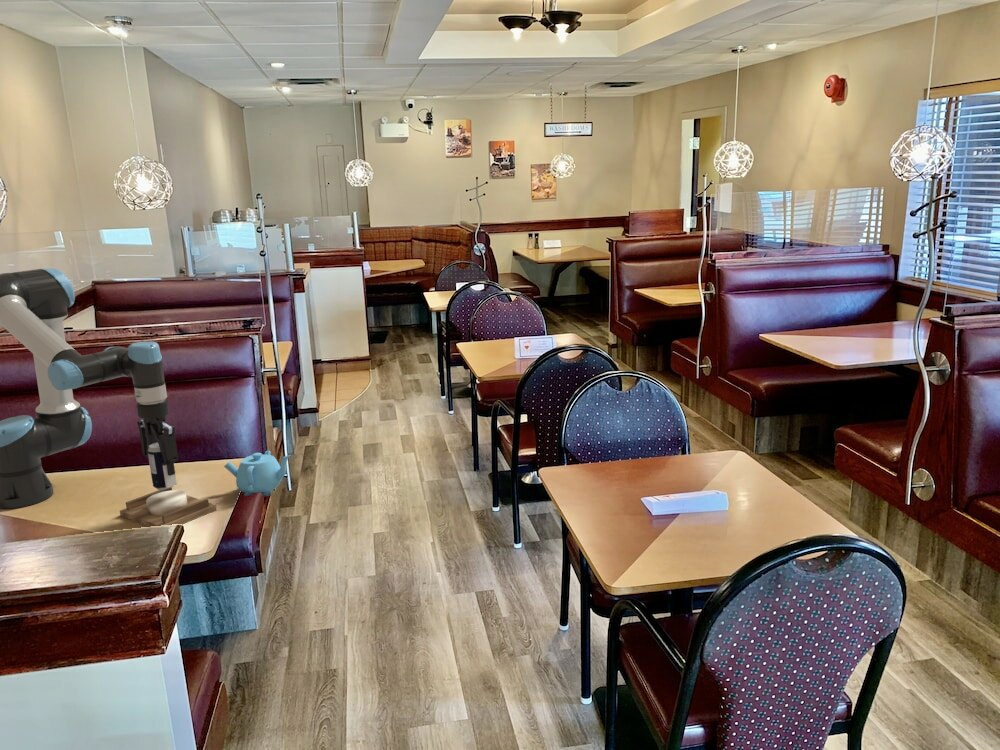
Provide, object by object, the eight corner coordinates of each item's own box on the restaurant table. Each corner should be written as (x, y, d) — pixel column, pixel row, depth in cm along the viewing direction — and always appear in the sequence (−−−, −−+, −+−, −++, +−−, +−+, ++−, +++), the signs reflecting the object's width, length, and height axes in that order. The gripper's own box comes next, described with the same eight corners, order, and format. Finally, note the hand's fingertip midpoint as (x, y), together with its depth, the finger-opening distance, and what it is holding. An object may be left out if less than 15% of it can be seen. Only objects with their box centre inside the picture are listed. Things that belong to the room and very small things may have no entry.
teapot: (277, 477, 234) (273, 441, 231) (295, 490, 223) (291, 453, 220) (226, 490, 225) (221, 453, 222) (243, 504, 214) (238, 466, 212)
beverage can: (167, 491, 205) (161, 448, 202) (149, 490, 206) (142, 447, 204) (180, 483, 211) (174, 441, 208) (162, 482, 212) (155, 440, 209)
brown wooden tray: (120, 515, 210) (117, 500, 209) (173, 495, 222) (171, 480, 221) (163, 532, 199) (160, 516, 197) (216, 510, 211) (214, 494, 210)
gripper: (118, 400, 205) (132, 481, 211) (159, 409, 195) (172, 495, 200) (145, 393, 211) (157, 473, 217) (185, 401, 201) (197, 485, 206)
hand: (164, 483), depth 208 cm, fingers closed on beverage can, 6 cm apart
